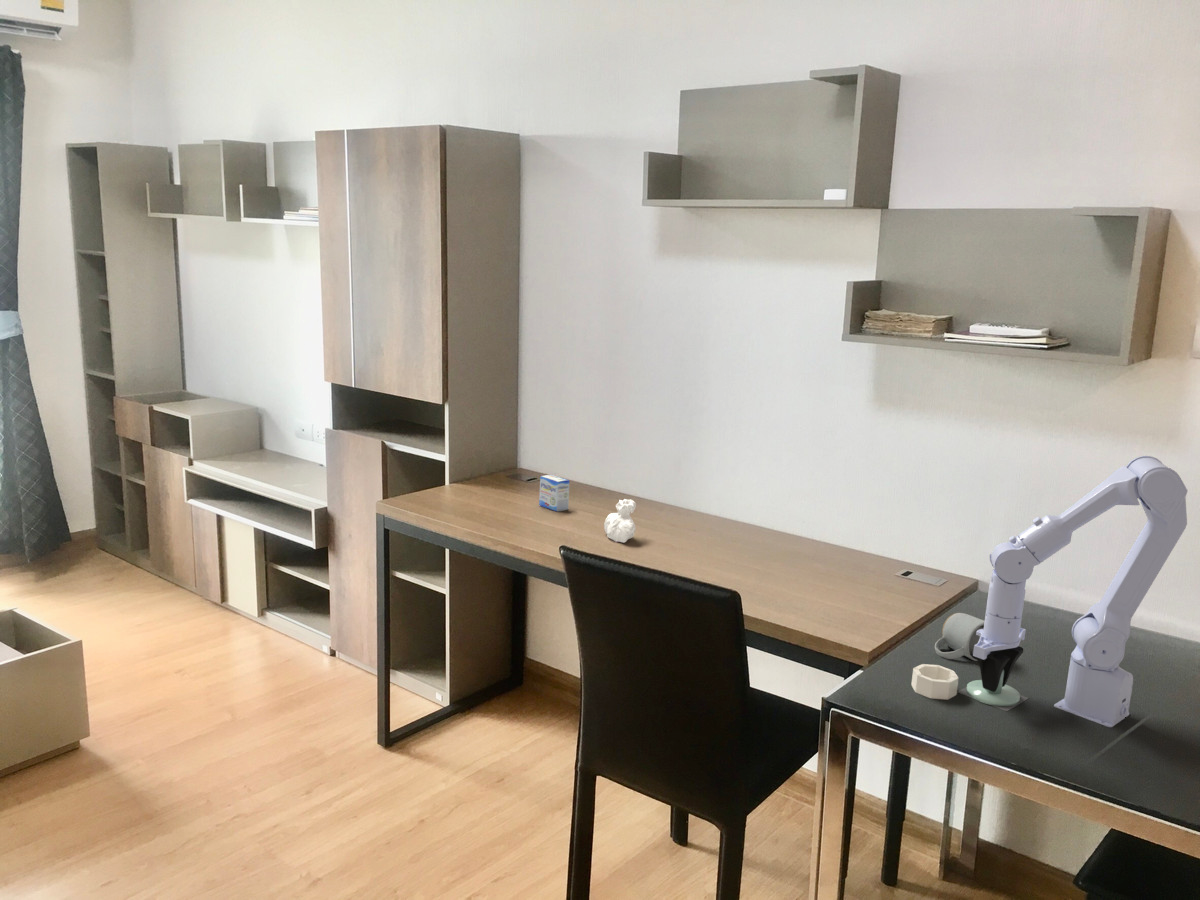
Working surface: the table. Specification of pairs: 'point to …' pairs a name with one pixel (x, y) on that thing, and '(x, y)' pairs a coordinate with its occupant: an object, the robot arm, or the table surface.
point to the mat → (993, 705)
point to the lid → (993, 693)
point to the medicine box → (554, 493)
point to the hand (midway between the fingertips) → (993, 687)
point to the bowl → (934, 681)
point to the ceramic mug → (959, 635)
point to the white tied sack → (621, 522)
